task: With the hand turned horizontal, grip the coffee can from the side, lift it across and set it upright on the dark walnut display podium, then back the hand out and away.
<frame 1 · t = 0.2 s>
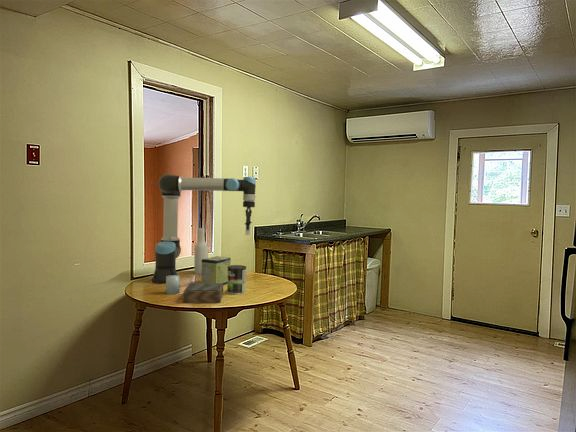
hand: (247, 234, 273), 28 cm above the table, tool pointing down, fingers open, 13 cm apart
coffee can: (236, 292, 234), on the table
alcohol: (201, 273, 285), on the table
pale glossy cylinder: (172, 292, 229), on the table
podium: (204, 298, 218), on the table
protein box: (216, 284, 253), on the table
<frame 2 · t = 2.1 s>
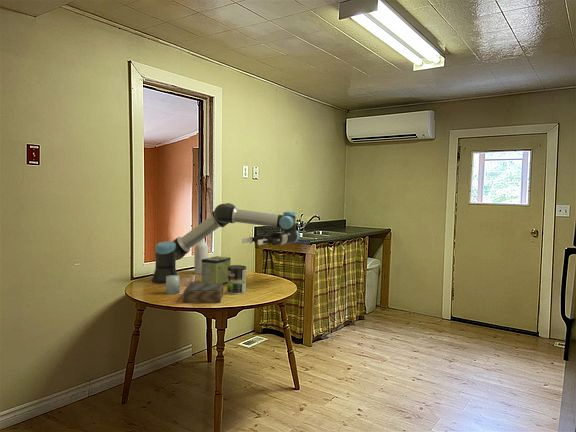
hand: (250, 241, 240), 27 cm above the table, tool horizontal, fingers open, 13 cm apart
nothing on the table moved.
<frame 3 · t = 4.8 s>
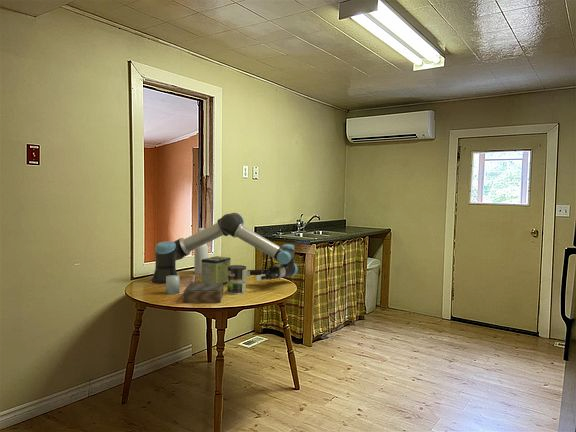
hand: (248, 276, 238), 8 cm above the table, tool horizontal, fingers open, 13 cm apart
nothing on the table moved.
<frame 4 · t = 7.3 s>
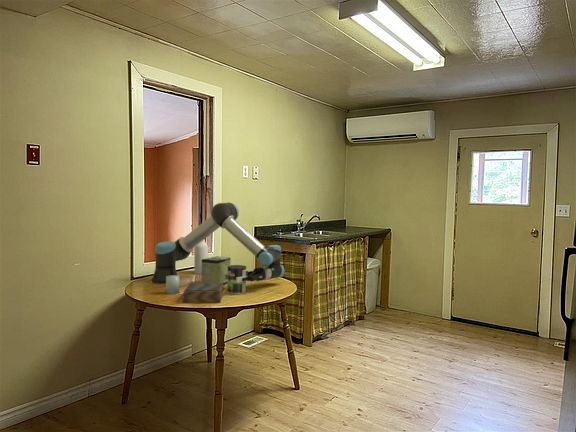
hand: (230, 278, 230), 8 cm above the table, tool horizontal, fingers closed on coffee can, 10 cm apart
coffee can: (236, 292, 234), on the table, touching gripper
everything else where it was.
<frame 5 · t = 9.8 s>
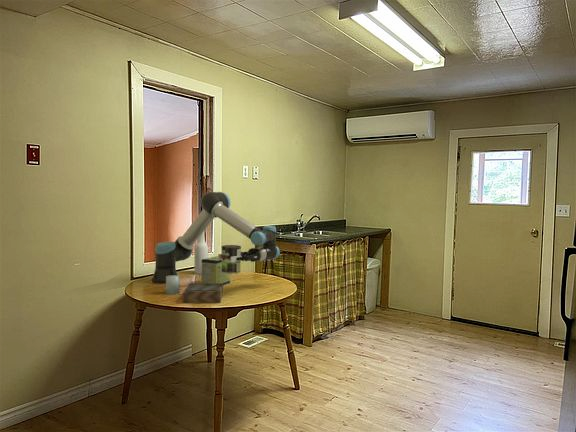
hand: (224, 258, 225), 20 cm above the table, tool horizontal, fingers closed on coffee can, 10 cm apart
coffee can: (231, 272, 229), point 11 cm above the table, touching gripper
everything else where it was.
when the fingers open (15 cm above the table, at t = 12.5 s): coffee can drops 1 cm, resting on podium.
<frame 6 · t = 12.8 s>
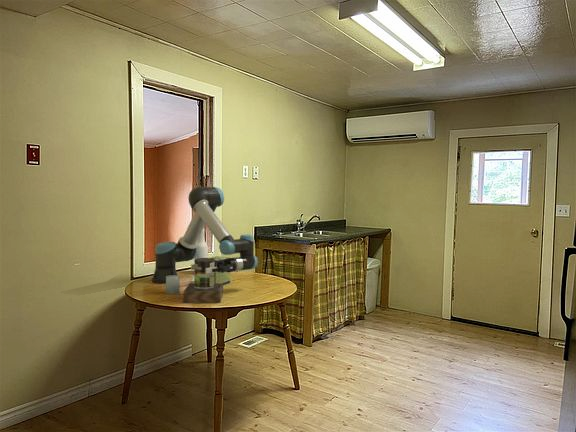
hand: (198, 269, 215), 15 cm above the table, tool horizontal, fingers open, 13 cm apart
coffee can: (204, 287, 218), point 6 cm above the table, touching podium
everything else where it was.
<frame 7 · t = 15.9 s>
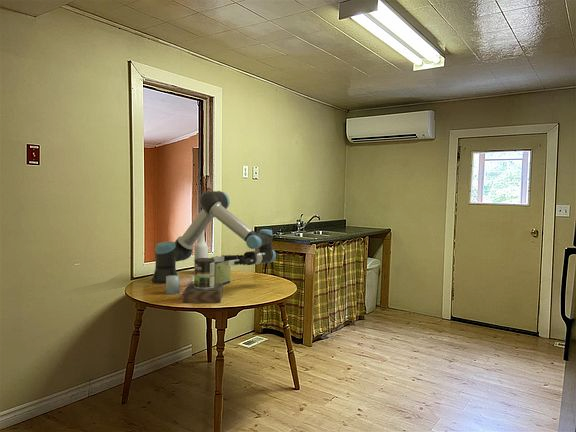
hand: (221, 261, 227), 18 cm above the table, tool horizontal, fingers open, 13 cm apart
nothing on the table moved.
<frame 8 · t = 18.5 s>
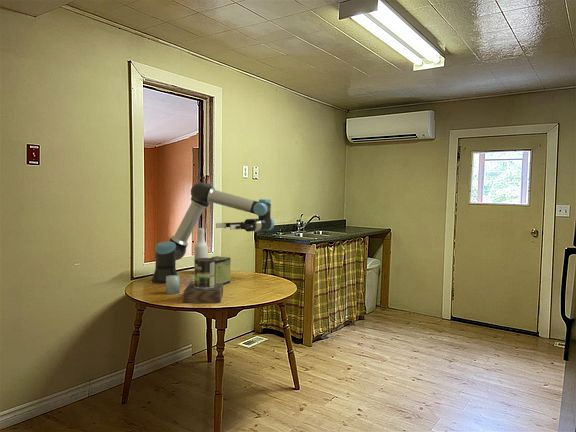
hand: (223, 226, 242), 35 cm above the table, tool horizontal, fingers open, 13 cm apart
nothing on the table moved.
at the end: coffee can inside the target area on the podium (0.2 cm from its centre), point 5.8 cm above the podium's base; coffee can tilted 0°; the gripper is holding nothing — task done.
